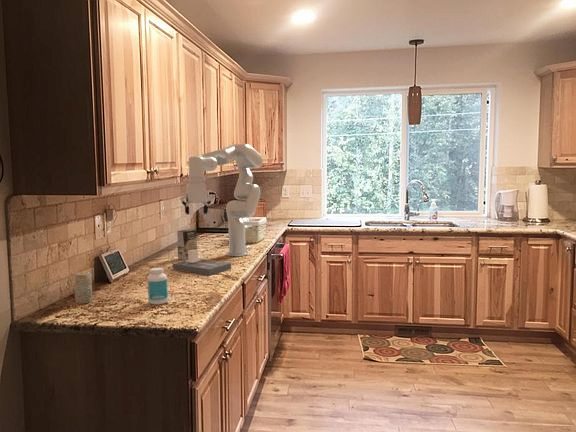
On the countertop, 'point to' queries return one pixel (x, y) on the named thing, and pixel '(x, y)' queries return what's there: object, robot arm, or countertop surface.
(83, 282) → the grey cylinder
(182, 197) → the robot arm
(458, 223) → the countertop surface
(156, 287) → the pill bottle
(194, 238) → the coffee box
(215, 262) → the console
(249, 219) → the storage basket
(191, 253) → the fader
